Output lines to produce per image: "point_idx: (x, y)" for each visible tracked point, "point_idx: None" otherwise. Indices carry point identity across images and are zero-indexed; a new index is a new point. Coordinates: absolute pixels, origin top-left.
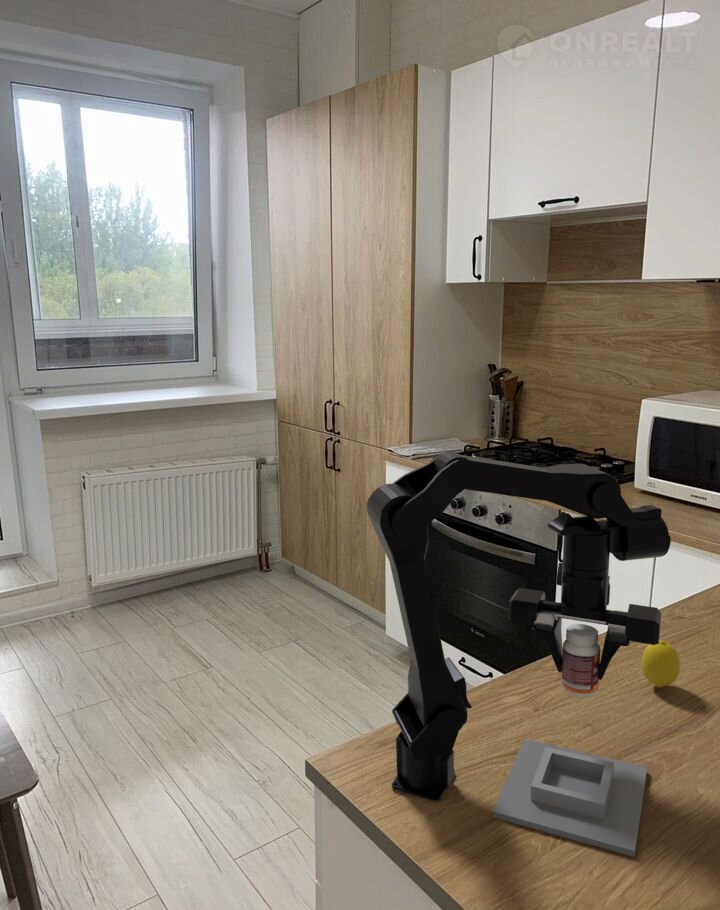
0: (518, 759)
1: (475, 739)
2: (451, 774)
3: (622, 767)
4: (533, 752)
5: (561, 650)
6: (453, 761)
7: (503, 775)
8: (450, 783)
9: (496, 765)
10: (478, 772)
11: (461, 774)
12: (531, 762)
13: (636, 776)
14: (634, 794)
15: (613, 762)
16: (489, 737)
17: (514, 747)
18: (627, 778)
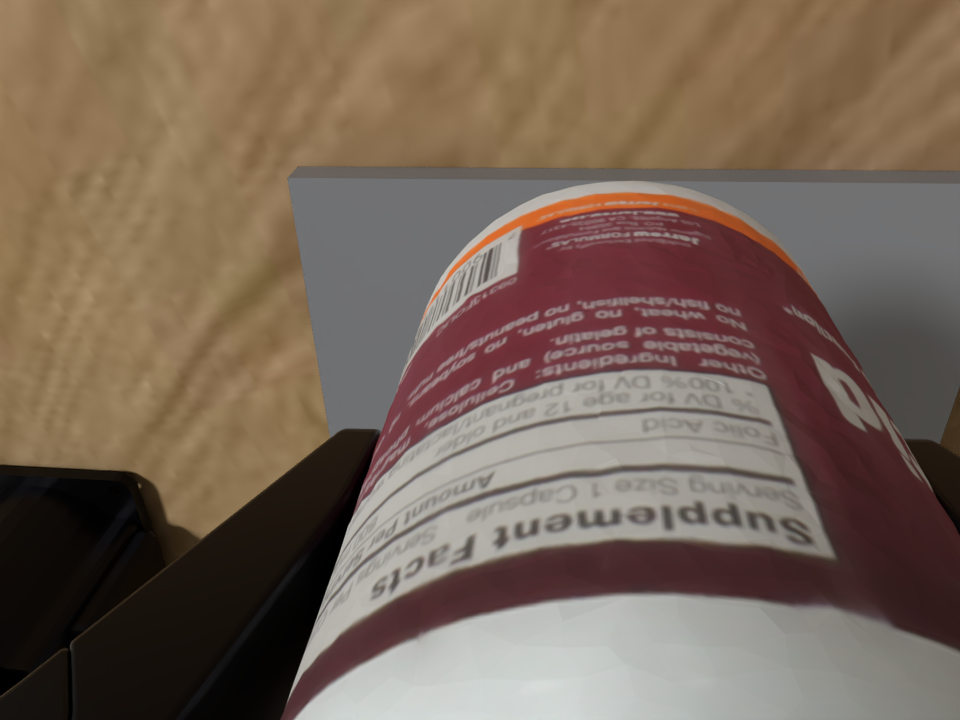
0: (332, 358)
1: (64, 223)
2: (147, 581)
3: (870, 242)
4: (379, 284)
5: (283, 700)
6: (120, 597)
7: (310, 425)
8: (165, 567)
9: (254, 376)
10: (212, 439)
11: (162, 468)
12: (396, 359)
13: (942, 291)
14: (906, 423)
15: (820, 213)
16: (112, 177)
17: (266, 215)
18: (887, 321)
